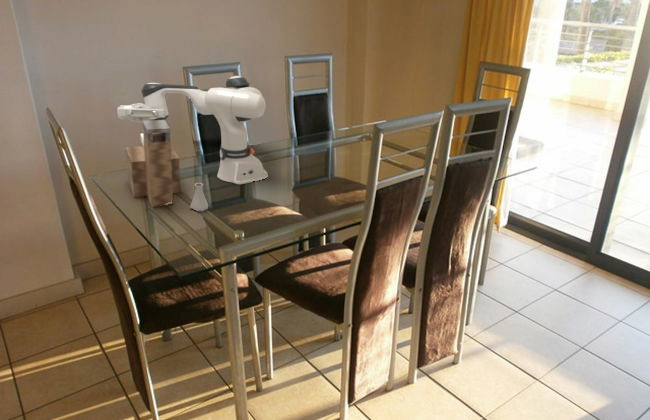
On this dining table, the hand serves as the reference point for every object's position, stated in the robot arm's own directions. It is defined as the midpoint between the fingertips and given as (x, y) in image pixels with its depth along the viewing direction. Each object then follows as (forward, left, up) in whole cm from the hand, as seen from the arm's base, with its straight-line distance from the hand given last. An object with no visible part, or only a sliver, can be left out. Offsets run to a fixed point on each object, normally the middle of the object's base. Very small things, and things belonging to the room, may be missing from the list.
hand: (143, 113), depth 223 cm
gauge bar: (+1, +22, -8) cm, 23 cm away
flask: (-12, +49, -24) cm, 55 cm away
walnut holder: (+1, +31, -23) cm, 39 cm away
